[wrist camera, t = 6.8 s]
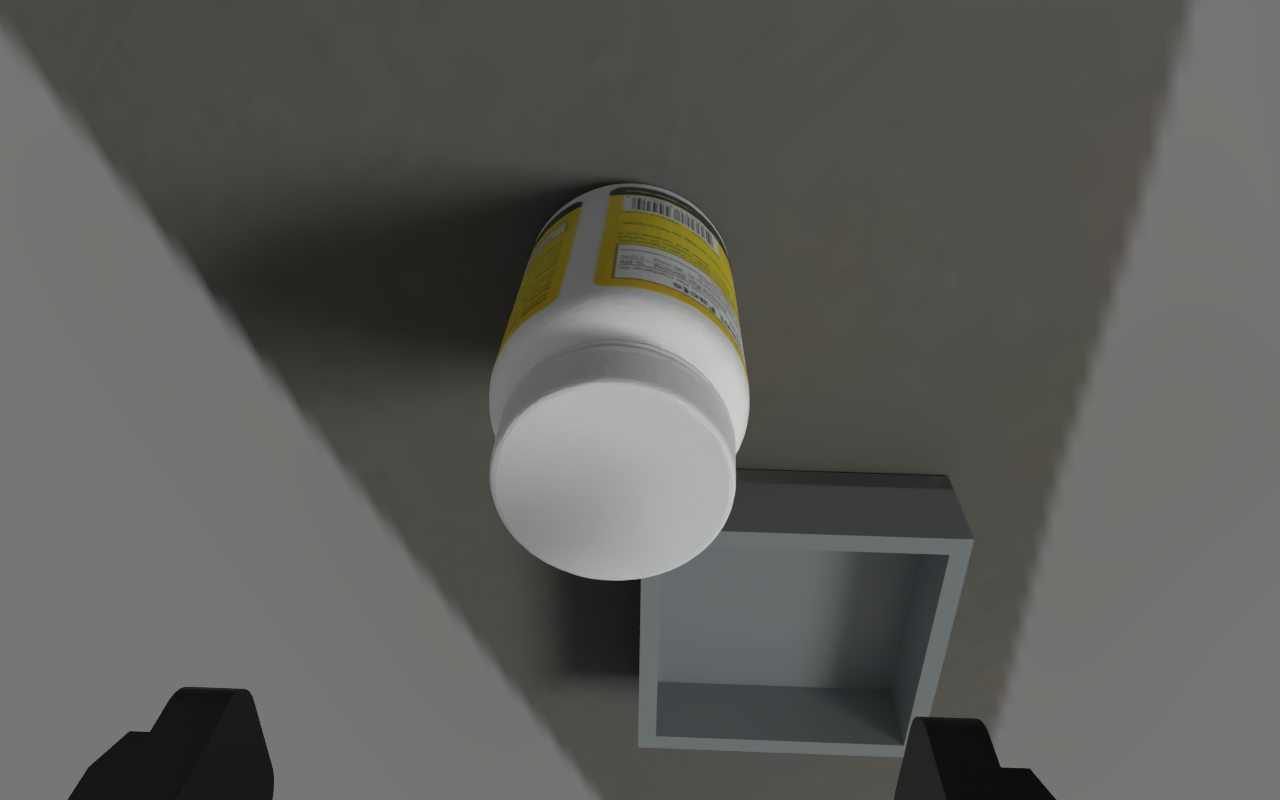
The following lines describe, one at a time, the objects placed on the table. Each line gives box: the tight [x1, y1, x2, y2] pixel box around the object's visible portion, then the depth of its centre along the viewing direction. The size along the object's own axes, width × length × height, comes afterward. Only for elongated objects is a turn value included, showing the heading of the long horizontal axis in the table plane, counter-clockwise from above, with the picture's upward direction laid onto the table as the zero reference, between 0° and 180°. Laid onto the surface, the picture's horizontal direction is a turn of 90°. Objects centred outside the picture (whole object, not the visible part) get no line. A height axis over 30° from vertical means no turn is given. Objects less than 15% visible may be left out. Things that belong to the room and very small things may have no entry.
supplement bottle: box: [489, 183, 749, 581], centre depth 18 cm, size 5×5×8 cm
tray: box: [638, 469, 974, 757], centre depth 26 cm, size 8×8×3 cm
